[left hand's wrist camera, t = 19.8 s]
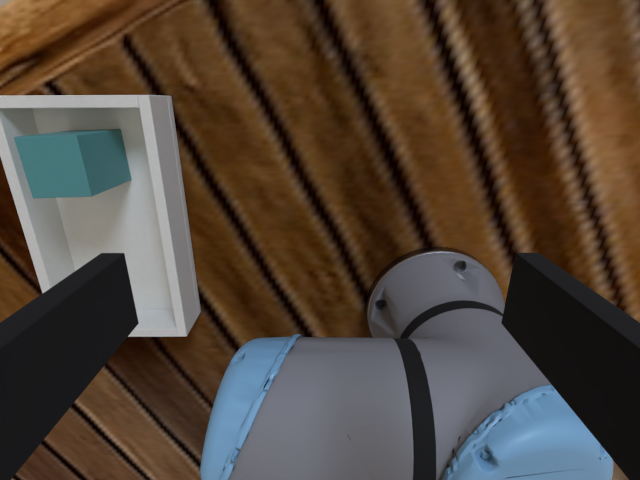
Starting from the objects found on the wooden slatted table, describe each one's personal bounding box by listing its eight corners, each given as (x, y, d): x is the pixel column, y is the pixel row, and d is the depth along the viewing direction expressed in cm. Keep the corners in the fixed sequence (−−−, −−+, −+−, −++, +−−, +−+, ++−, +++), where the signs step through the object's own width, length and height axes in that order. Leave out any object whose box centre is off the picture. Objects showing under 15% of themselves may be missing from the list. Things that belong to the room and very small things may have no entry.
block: (121, 128, 35) (75, 134, 29) (132, 180, 37) (91, 196, 30) (69, 130, 35) (12, 136, 29) (83, 181, 37) (32, 198, 31)
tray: (26, 96, 35) (-19, 95, 30) (171, 96, 35) (148, 94, 30) (84, 312, 44) (55, 337, 39) (201, 311, 44) (186, 336, 39)
